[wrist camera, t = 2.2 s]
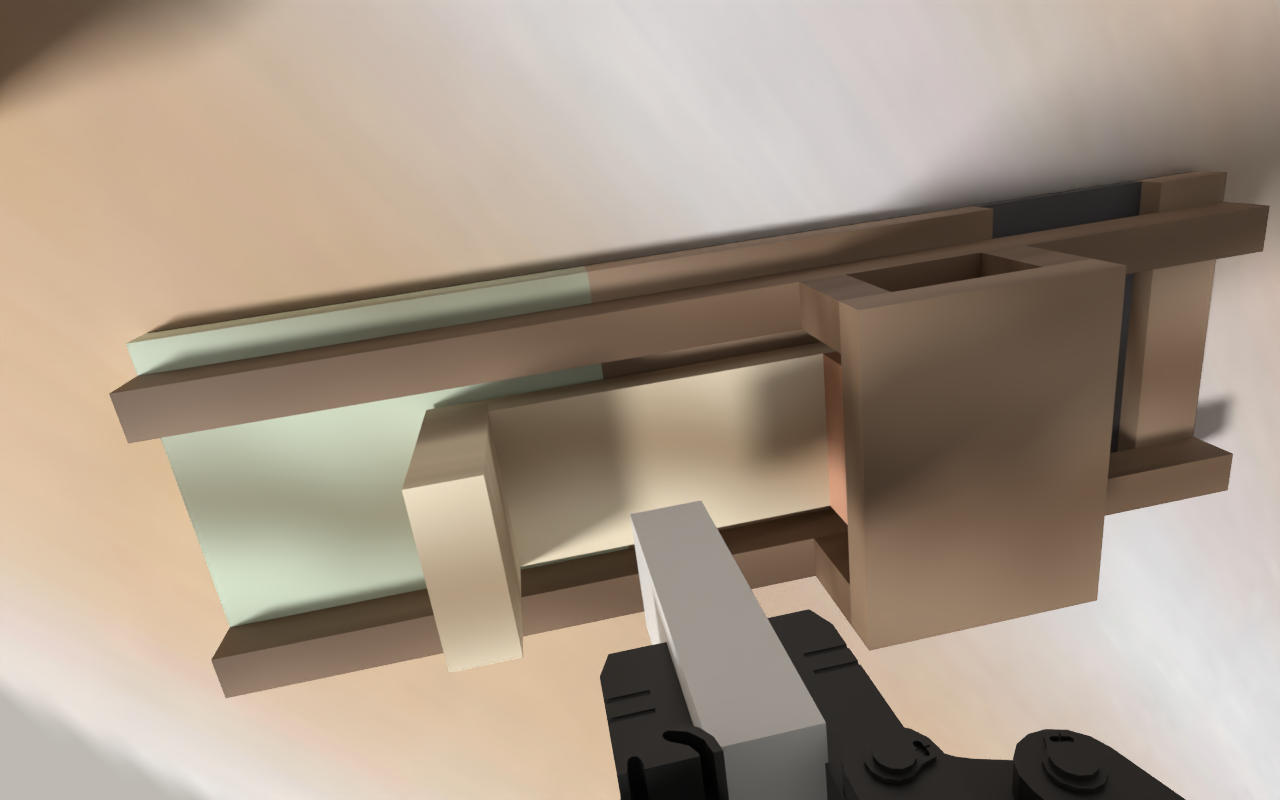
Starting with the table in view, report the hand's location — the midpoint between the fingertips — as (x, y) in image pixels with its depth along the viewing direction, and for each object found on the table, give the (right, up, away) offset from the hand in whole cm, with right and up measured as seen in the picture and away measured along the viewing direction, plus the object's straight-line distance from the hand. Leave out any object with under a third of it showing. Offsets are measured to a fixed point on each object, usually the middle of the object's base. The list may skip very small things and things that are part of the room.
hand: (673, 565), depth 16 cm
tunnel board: (+2, +3, +6) cm, 7 cm away
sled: (+3, +3, +5) cm, 7 cm away
